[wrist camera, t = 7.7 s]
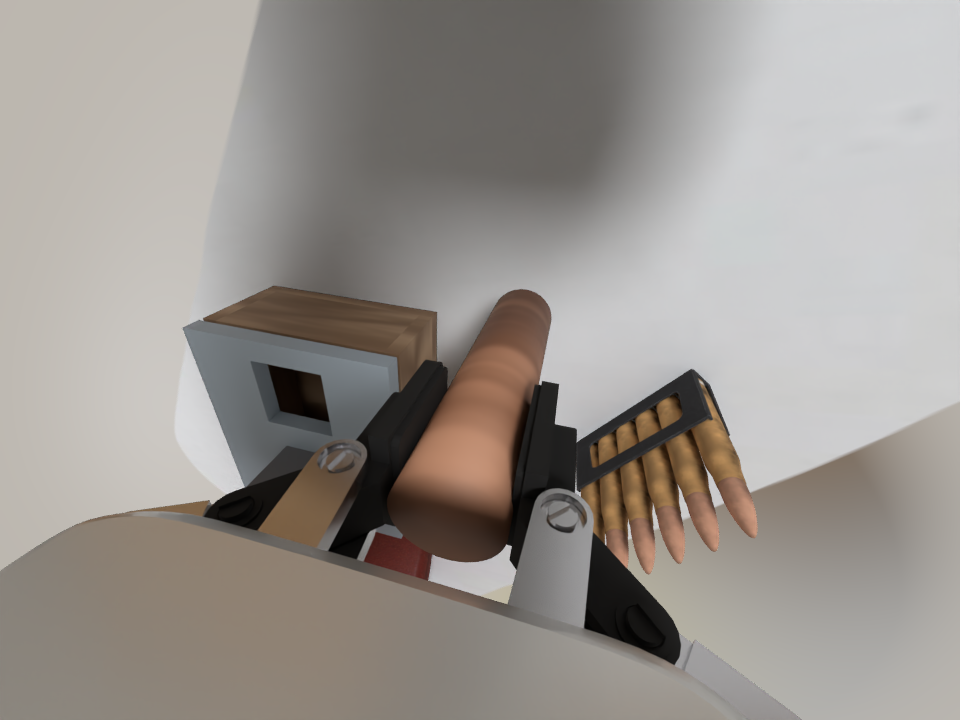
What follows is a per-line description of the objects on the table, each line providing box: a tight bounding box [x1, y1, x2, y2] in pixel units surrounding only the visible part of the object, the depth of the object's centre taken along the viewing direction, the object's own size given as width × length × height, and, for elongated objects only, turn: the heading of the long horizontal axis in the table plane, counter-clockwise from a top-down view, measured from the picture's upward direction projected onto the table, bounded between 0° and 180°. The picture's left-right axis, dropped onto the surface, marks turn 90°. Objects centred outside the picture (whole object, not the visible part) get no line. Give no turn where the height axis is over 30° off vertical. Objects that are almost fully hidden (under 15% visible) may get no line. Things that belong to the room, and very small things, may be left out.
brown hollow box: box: [203, 286, 437, 422], centre depth 30 cm, size 16×14×7 cm
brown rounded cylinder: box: [387, 289, 551, 562], centre depth 14 cm, size 3×3×12 cm
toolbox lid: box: [183, 320, 403, 539], centre depth 25 cm, size 16×14×6 cm
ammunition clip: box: [576, 369, 757, 574], centre depth 23 cm, size 11×2×12 cm, turn 141°
